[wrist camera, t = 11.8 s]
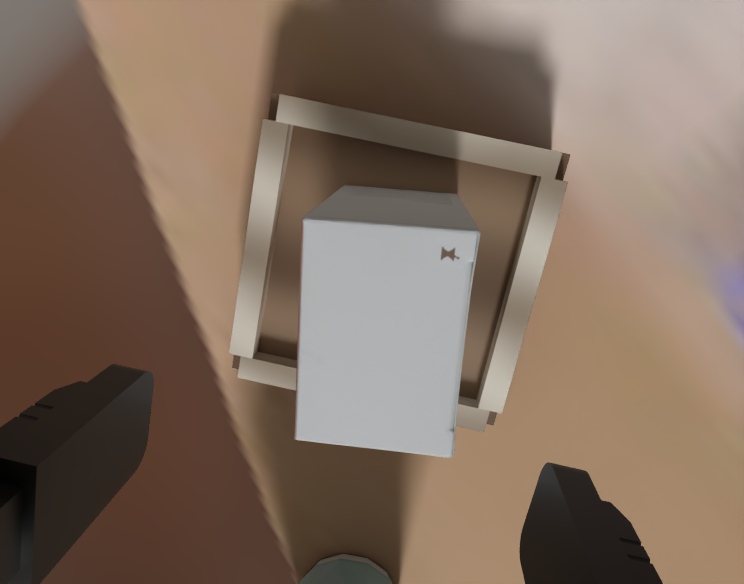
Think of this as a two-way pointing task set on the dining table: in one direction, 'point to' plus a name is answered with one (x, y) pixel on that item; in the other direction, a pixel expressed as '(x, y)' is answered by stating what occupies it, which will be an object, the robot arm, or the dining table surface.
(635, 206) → the dining table surface
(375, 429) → the small box
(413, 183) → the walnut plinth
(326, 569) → the disposable coffee cup
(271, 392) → the dining table surface
